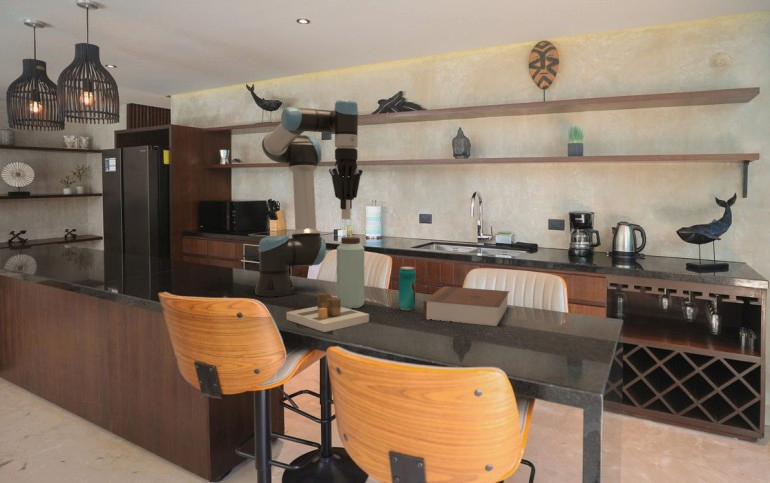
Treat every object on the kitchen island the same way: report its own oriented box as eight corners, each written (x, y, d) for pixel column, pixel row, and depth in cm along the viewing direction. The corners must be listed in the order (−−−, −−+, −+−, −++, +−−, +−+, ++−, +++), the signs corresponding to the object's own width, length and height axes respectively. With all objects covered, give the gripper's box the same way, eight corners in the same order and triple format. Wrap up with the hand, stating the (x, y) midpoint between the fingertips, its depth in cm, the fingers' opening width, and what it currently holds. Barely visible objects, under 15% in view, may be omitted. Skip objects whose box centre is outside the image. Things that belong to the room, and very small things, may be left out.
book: (423, 320, 169) (423, 301, 169) (443, 303, 195) (443, 286, 195) (498, 328, 161) (498, 307, 160) (508, 309, 187) (509, 291, 186)
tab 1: (317, 309, 169) (317, 294, 169) (324, 307, 172) (324, 293, 171) (323, 310, 167) (323, 295, 167) (330, 309, 169) (330, 294, 169)
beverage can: (413, 311, 180) (414, 269, 178) (397, 310, 181) (398, 268, 179) (416, 307, 185) (416, 266, 184) (400, 306, 186) (400, 266, 185)
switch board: (286, 319, 167) (286, 302, 166) (330, 310, 179) (330, 295, 179) (324, 332, 152) (324, 314, 152) (369, 321, 165) (369, 305, 164)
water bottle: (351, 301, 194) (351, 236, 191) (369, 306, 187) (370, 238, 184) (330, 305, 187) (330, 237, 184) (348, 310, 180) (349, 239, 177)
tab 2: (327, 314, 162) (327, 299, 162) (334, 313, 164) (334, 297, 164) (333, 316, 160) (333, 300, 160) (340, 314, 162) (340, 299, 162)
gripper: (338, 146, 163) (338, 220, 166) (368, 149, 172) (367, 219, 175) (323, 147, 169) (323, 219, 171) (353, 150, 178) (353, 218, 180)
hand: (346, 219), depth 173 cm, fingers closed
